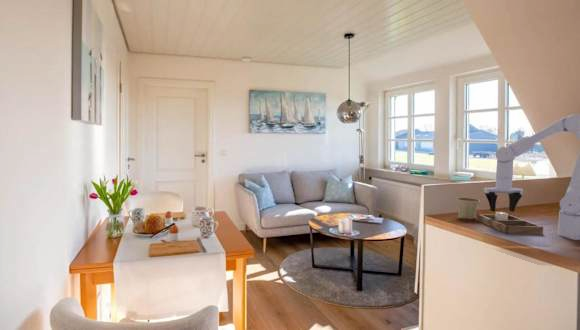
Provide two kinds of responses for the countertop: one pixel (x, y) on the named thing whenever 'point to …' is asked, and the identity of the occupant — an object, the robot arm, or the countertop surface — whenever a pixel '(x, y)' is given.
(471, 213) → the flower pot
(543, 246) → the countertop surface
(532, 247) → the countertop surface
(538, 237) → the countertop surface
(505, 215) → the white rounded egg-shaped piece
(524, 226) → the bin
